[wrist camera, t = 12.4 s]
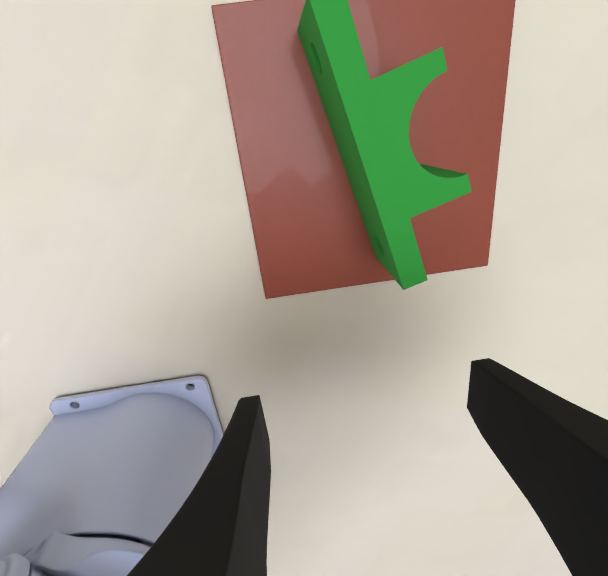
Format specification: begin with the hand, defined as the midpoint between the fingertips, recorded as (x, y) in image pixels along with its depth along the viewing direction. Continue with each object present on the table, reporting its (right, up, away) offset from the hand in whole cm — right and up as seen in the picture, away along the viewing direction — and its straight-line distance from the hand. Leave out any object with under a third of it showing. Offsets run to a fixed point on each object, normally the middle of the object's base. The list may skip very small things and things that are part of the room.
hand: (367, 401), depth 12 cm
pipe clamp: (+1, +11, +6) cm, 12 cm away
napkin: (+1, +10, +6) cm, 12 cm away
